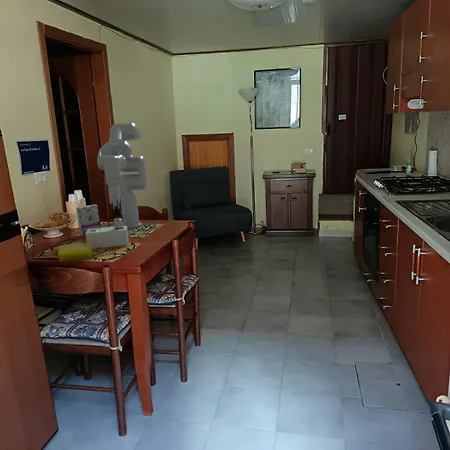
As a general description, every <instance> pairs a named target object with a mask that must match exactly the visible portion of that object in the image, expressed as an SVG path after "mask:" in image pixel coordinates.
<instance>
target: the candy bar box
mask: <svg viewBox="0 0 450 450" xmlns="http://www.w3.org/2000/svg"><path fill="white" fill-rule="evenodd" d="M75 210H76V216H77V221H78V230H79V235H80V236H82V237H86V234H85V233H86V232H87V230H88V229H95V228H102V226H101V222H100V220H101V219H100V212H99V206H98V205H97V204H91V205H90V204H89V205H84V206H79V207H76V209H75Z"/></svg>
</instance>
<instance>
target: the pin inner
mask: <svg viewBox="0 0 450 450" xmlns="http://www.w3.org/2000/svg"><path fill="white" fill-rule="evenodd" d="M113 224H114V226H113V227H115V230H119V229H123V226H122V224H123V217H122V218H120V217H115V218H113Z"/></svg>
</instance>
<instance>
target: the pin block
mask: <svg viewBox="0 0 450 450" xmlns="http://www.w3.org/2000/svg"><path fill="white" fill-rule="evenodd" d="M92 230H99V231H96V232H91V231H92ZM128 232H129V231H128V228H127V226H123V229H119V230H115V226H109V227H108V226H107V227H101V228H95V229H88V230H87V232H86V233H85V234H86V236H85V241H86V242H85V243H88V242H90V243H91V245H92V249H100V247H102V248H110V247H111V246H113V247H121V246H122V247H123V246H128V245H129V233H128ZM111 248H112V247H111Z"/></svg>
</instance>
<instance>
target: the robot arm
mask: <svg viewBox="0 0 450 450" xmlns="http://www.w3.org/2000/svg"><path fill="white" fill-rule="evenodd" d="M141 135H142V134H141V128H140V127H139V125H137V124H136V123H134V122H123V123H122V122H120V123H118V122H117V123H114V124H113V125H111V127H110V129H109V138H108V141H107V142H106V143H105V144H104V145H102V146H101V147H100V148H99V150H98V152H97V153H98V154H97V158H96V159H97V161H96V163H97V164H96V165H97V167H98V169H100V170H101V171H104V175H105V184H106V185H107V186H108V188H107V189H108V198H109V200H108V201H109V204H110V205H113V206H112V207H113V209H112V210H113V217H114V218H120V217H121V215H122V226H127V229H134V228H139V227H141V226H142V225H143V223H142V222H141V221H140V219H139V218H140V217H139V207H138V198H137V195H136V194H135V193H134V192H133V191H140V190H145V189H147V187H148V175H147V164H146V159H145V157H144V156H143V155H133V148H132V146H131V145H130V143H129V142H128V141H138V140H139V139H140V138H141ZM135 172H136V173H135ZM121 173H130V174H122V175H121ZM134 173H135V174H134ZM120 205H121V208H120Z"/></svg>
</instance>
